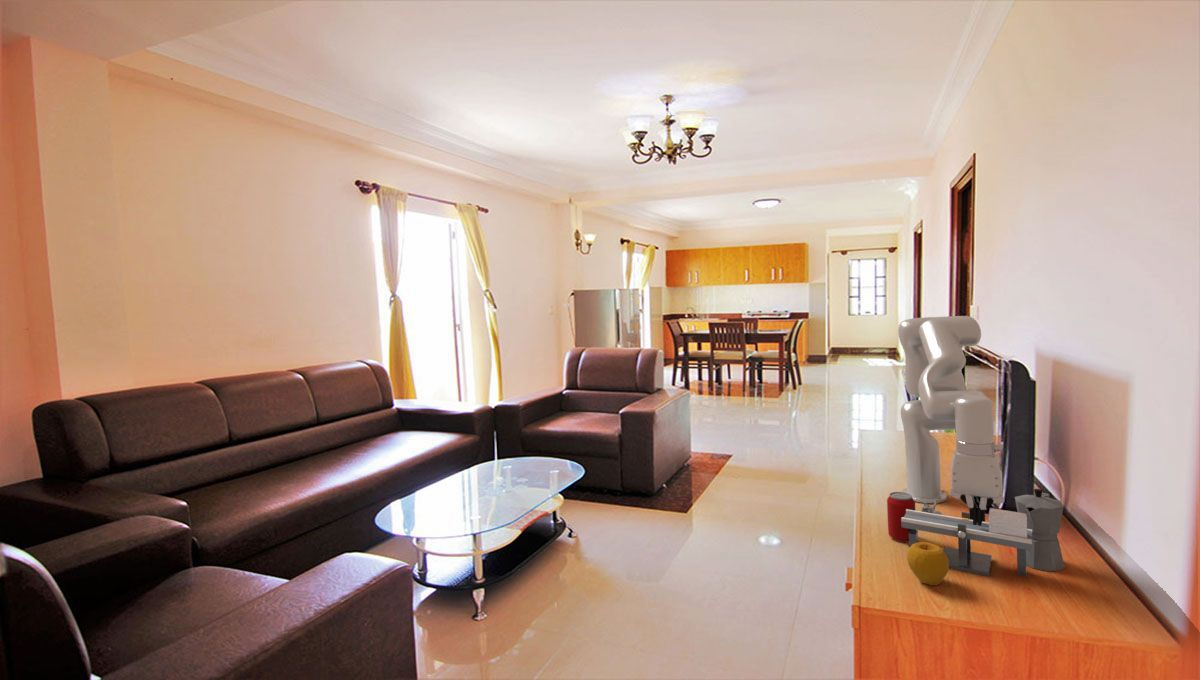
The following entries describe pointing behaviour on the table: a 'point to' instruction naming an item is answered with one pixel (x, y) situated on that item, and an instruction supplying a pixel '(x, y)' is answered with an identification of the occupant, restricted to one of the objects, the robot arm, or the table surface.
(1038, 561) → the coffeepot
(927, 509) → the elephant figurine
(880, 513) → the table surface
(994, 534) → the beam
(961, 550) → the stand
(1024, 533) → the rider
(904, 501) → the beverage can
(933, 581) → the apple
